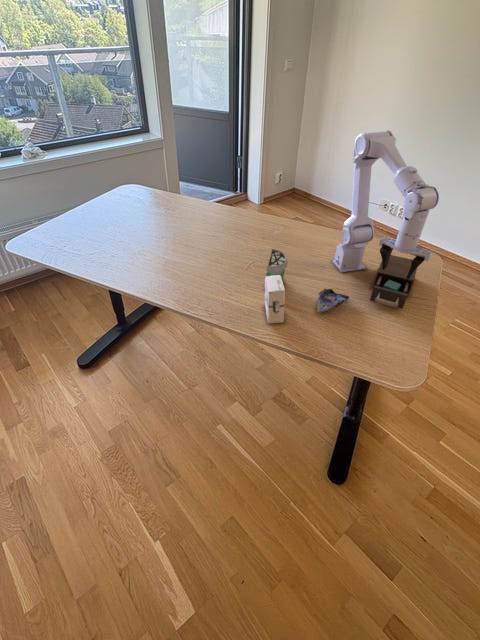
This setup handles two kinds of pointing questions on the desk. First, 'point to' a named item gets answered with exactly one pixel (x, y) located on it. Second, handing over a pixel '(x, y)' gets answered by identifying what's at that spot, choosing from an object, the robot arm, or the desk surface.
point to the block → (392, 285)
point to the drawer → (390, 292)
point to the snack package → (329, 300)
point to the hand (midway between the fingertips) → (396, 272)
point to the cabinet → (397, 270)
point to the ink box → (274, 299)
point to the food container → (277, 263)
